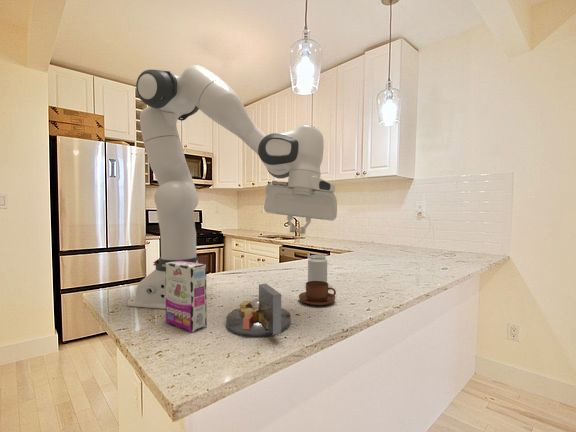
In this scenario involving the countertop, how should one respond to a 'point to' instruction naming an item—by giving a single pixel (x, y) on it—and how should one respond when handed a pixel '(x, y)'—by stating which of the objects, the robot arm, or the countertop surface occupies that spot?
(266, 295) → the gray slab gold ring
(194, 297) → the candy bar box
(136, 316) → the countertop surface
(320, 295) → the cup and saucer
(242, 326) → the cap plate
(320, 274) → the can
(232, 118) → the robot arm
